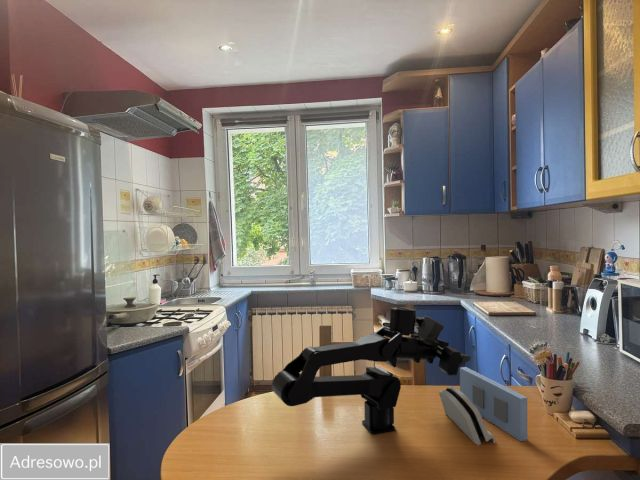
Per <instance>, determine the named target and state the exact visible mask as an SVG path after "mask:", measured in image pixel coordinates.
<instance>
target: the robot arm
mask: <svg viewBox="0 0 640 480" xmlns="http://www.w3.org/2000/svg"><path fill="white" fill-rule="evenodd" d="M417 311H418V310H417V309H414V308H410V307H404V306H397V307H391V308H390V319H389V327H388V326H385V325H382V326H381V327H379V329H377V330H376V331H375V332H373V333H372V332H371V333H369V334H366V335H363V336H361V337H359V339H357V340H354V341H350V342H342V343H341V342H340V343H335V344H327V345H320V346H309V347H308V346H307V347H305V348H304V349H303V350H302V351H301V352H300V353H299V354H298V356H297V357H295V358H294V359H292V360H291V361H290V362H288V363H287V364H286V365H285V367H284V368H283V369H282V370H280V371H279V372H277V374H276V375H275V376H274V378H273V379H272V383H271V389H272V391H273V393H274V394H275V395H276V396H277V397H278V398H279V399H280V400H281V402H282V403H284V404H285V405H286V406H288V407H296V406H300V405H304V404H307V403H309V402H310V401H312V400H314V399H315V398H327V397H342V396H344V397H345V396H358V395H359V396H360V397H361V398H362V399H364V400H365V401H363V402H364V403H363V404H364V419H363V420H361V424H363V426H364V427H365V428H366V429H367V430H368V431H369V432H370V433H371V435H376V434H384V433H387V432H393V431H396V427H395V426H394V424H395V408H396V406H397V403H398V399H399V397H400V396H399V395H400V392H401V387H402V383H401V380H400V379H399V377H397V376H395V375H394V374H393V373H392V372H390V371H388V370H387V369H384V368H382V367H381V366H379V365H376V366H374V367H371V366H366V367H365V372H364V373H362V374H357V375H326V376H325V375H324V376H323V375H321V376H317V373H318V372H319V370H320V369H321V367H326V366H333V365H337V364H338V365H339V364H344V363H349V362H355V361H362V360H363V361H370V362H375V363H376V362H379V363H381V362H384V363H387V364H388V365H390V366H391V367H392V368H396V367H397V363H398V362H397V360H410V361H411V360H412V361H413V362H414V363H416V364H420V362H421V361H426V362H427V363H429V364H434V359H436V358H438V359H439V362H438V368H439V369H440V370H441V372H443V373H444V374H446V375H447V376H451V377H455V376H457V375H458V370H459V369H460V368H461V366H463V365H465V364H466V363H468V362H470V361H471V356H470V355H468V354H465V353H461V352H460V350H458V349H457V348H455V347H453V346H449V344H450V343H449V342H447V341H445V340H442V339H439V336H440V334H441V333H442V331H443V330H444V328H445V327H444V324H443V323H441V322H439V321H438V320H435V319H433V318H432V317H430V316H428V315H423V317H422V316H417Z"/></svg>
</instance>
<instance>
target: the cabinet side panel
mask: <svg viewBox="0 0 640 480" xmlns="http://www.w3.org/2000/svg"><path fill="white" fill-rule="evenodd" d="M459 390H460V391H461V392H462V393H463V394H464V395H465V396H466V397H467V398H468V399H469V400H470V401H471V402H472V403H473V404H474V405H475V407H476V408H477V409H478V411H479V412H480V415H481V417H482V418H483V417H484V418H483V419H485V420H487V421H488V420H489V421H488V422H490V423H491V422H492V423H491V424H493V425H494V424H495V426H496V427H497V426H498V428H499V427H500V429H501V430H502V429H503V430H502V431H504V432H505V431H506V432H505V433H507V434H508V433H509V434H508V435H510V436H511V435H512V437H513V438H514V439H516V440H518V441H519V442H523V441H528V397H527V396H525V395H523V394H521V393H520V392H517V391H515V390H513V389H511V388H509V387H507V386H505V385H503V384H501V383H499V382H497V381H495V380H492V379H491V378H489V377H487V376H484V375H483V374H481V373H479V372H477V371H475V370H473V369H471V368H469V367H467V366H463V367H461V366H460V367H459Z"/></svg>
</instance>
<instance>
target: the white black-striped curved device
mask: <svg viewBox="0 0 640 480" xmlns="http://www.w3.org/2000/svg"><path fill="white" fill-rule="evenodd" d="M438 394H439V398H440V401H441V404H442V407H443V410H444V414H446V415H447V417H449V419H451V420H452V422H454V424H455V425H456V426H457V427H458V428H459V429H460V431H462V432H463V433H464V434H465V435H466V437H468V438H469V439H470V440H471V441H472V442H473V444H474V445H476V444H477V445H476V446H481V445H482V442H483V441H484V442H486V443H487V442H488V441H491V442H492V443H494V442H496V443H497V441H496V439H495V436H494V435H493V434H492V432H490V431H489V430H488V429H487V426H486V425H485V422H484V420H483V417H482V416H481V415H480V412H479V411H478V409H477V408H476V407H475V405H474V404H473V403H472V402H471V401H470V400H469V399H468V398H467V397H466V396H465V395H464V394H463V393H462V392H461V391H460V389H458V388H457V387H454V386H448V387H446V389H441V390H440V391H438ZM490 439H491V440H490Z"/></svg>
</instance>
